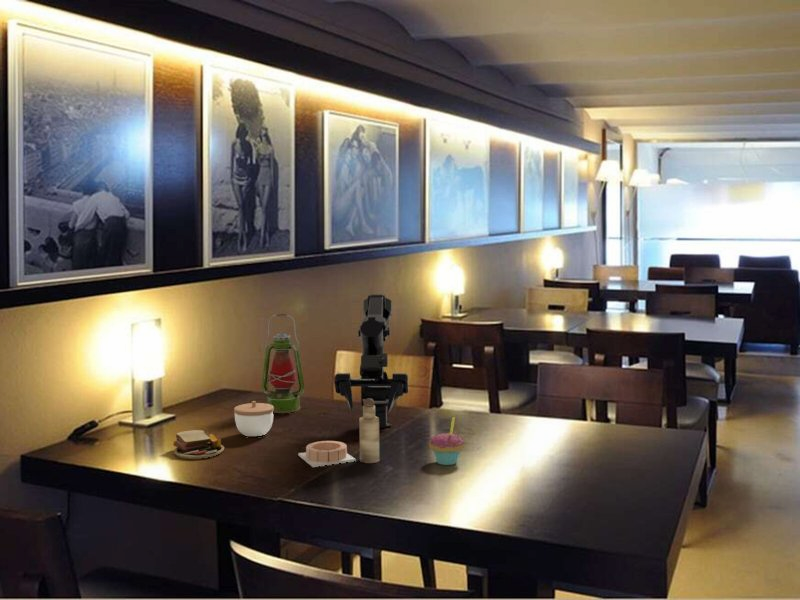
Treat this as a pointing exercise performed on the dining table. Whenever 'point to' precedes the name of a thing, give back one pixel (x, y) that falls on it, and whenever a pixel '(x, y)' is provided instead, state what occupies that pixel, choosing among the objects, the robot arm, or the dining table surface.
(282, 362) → the lantern
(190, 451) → the toy sandwich meal
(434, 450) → the cupcake
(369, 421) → the pepper mill
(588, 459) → the dining table surface
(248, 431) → the lidded jar
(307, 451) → the ring
